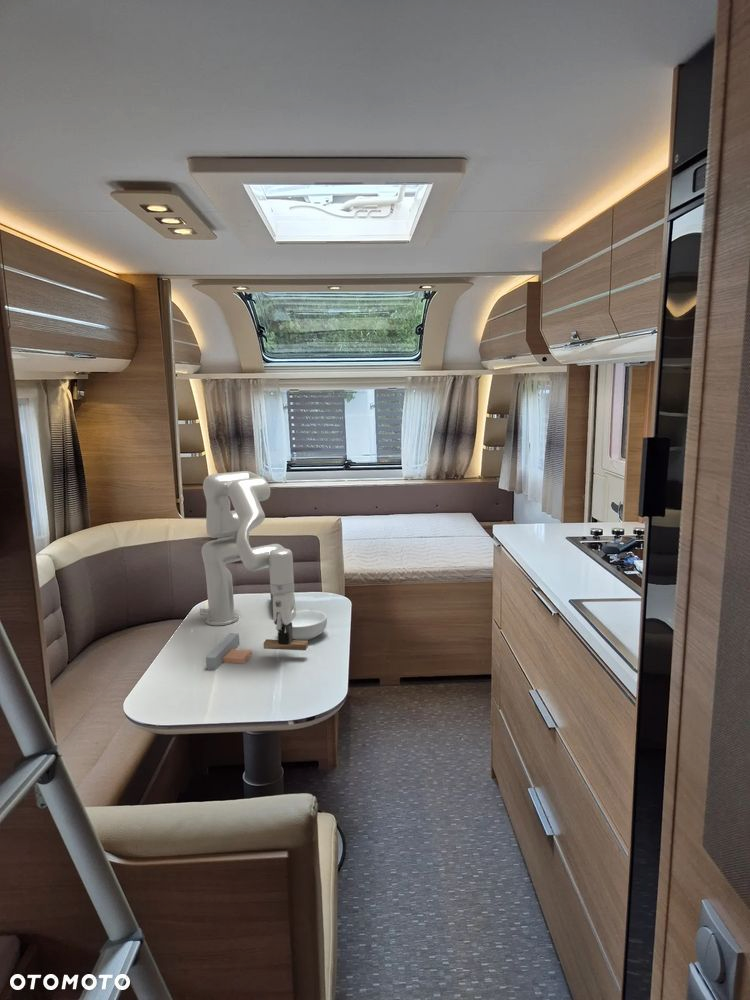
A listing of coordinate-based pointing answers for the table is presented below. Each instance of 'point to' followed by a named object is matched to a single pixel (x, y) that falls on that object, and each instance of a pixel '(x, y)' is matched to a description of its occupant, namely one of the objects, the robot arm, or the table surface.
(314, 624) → the cereal bowl
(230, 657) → the tile
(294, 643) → the scraper
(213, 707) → the table surface
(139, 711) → the table surface
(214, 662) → the stop rail
